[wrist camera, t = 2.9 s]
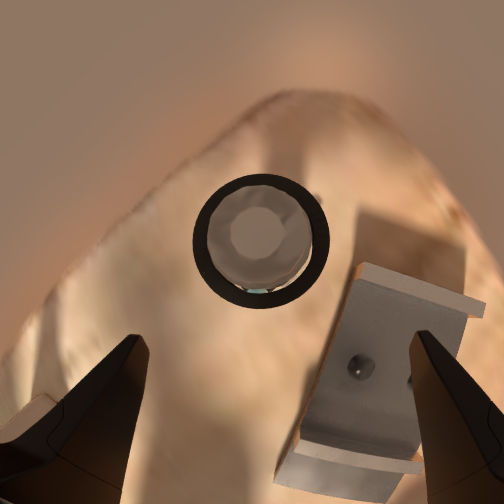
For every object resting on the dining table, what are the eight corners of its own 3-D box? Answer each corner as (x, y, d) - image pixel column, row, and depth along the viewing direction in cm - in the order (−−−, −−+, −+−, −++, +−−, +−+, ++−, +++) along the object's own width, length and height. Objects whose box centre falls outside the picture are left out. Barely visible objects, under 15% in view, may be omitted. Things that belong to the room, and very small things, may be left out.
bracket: (382, 495, 16) (391, 517, 13) (274, 474, 18) (270, 497, 15) (462, 304, 18) (486, 303, 15) (354, 267, 20) (364, 261, 17)
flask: (43, 379, 22) (-40, 394, 12) (93, 439, 20) (15, 480, 10) (22, 419, 21) (-48, 439, 12) (67, 473, 20) (1, 510, 10)
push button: (291, 199, 21) (287, 118, 12) (345, 255, 20) (387, 212, 10) (219, 263, 21) (157, 229, 11) (270, 323, 20) (249, 341, 10)
